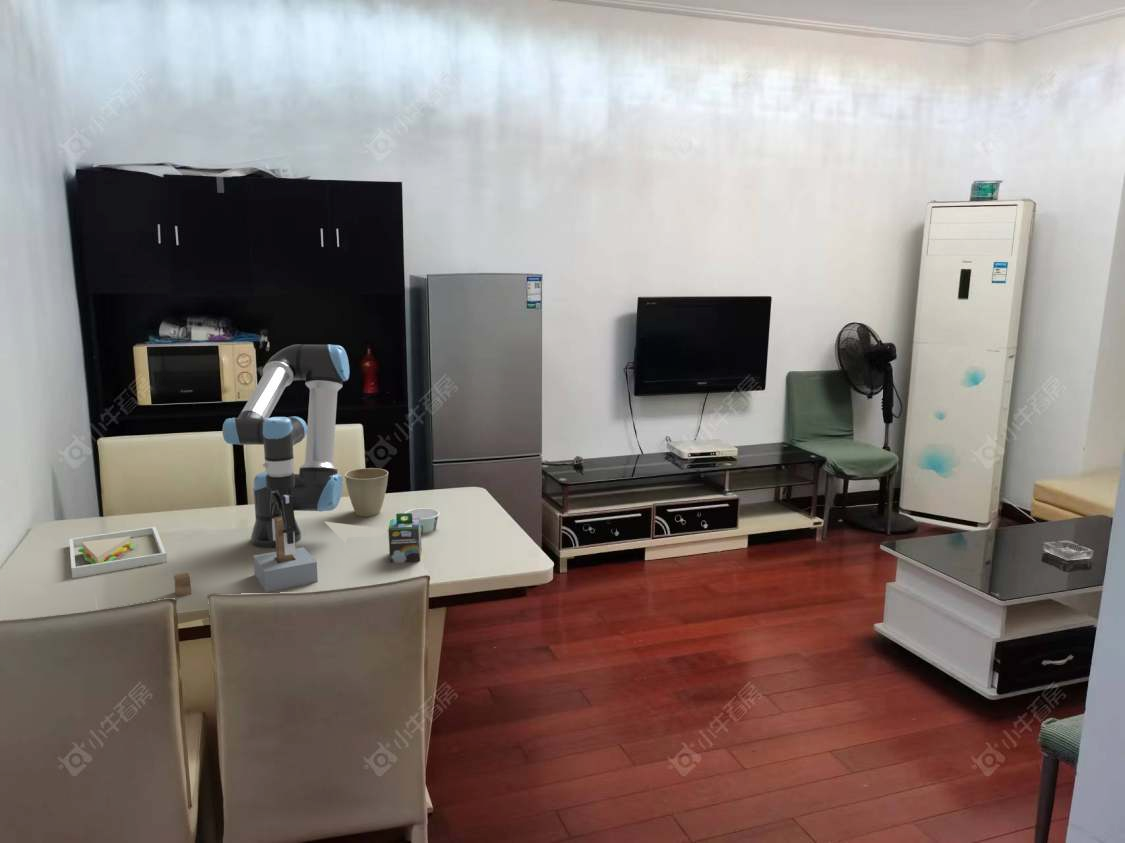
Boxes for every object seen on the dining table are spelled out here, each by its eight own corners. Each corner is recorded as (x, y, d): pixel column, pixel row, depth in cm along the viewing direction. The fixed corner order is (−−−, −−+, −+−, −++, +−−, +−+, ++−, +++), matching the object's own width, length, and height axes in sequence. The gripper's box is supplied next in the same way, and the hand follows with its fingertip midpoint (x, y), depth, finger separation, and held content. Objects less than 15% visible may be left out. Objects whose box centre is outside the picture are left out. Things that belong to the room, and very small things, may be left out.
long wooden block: (277, 578, 225) (274, 517, 221) (290, 575, 227) (287, 515, 223) (281, 582, 222) (277, 520, 219) (293, 579, 224) (290, 518, 221)
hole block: (254, 575, 226) (253, 555, 225) (304, 566, 234) (303, 547, 233) (265, 592, 215) (264, 571, 214) (317, 582, 222) (316, 561, 221)
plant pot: (338, 520, 277) (336, 476, 274) (360, 508, 291) (359, 466, 288) (376, 525, 272) (374, 480, 269) (397, 512, 286) (396, 470, 283)
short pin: (175, 592, 214) (173, 574, 214) (189, 589, 216) (188, 572, 215) (177, 596, 212) (175, 579, 211) (191, 594, 213) (189, 576, 212)
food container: (443, 527, 271) (443, 508, 270) (434, 538, 260) (434, 519, 258) (409, 525, 273) (409, 507, 271) (399, 537, 261) (398, 518, 260)
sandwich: (57, 576, 225) (55, 560, 224) (85, 552, 244) (83, 537, 243) (116, 573, 228) (114, 557, 227) (139, 550, 247) (137, 535, 246)
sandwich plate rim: (70, 548, 247) (69, 538, 246) (156, 535, 259) (155, 526, 259) (72, 578, 223) (71, 568, 222) (167, 562, 235) (166, 553, 235)
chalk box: (421, 553, 246) (420, 507, 244) (420, 563, 237) (419, 516, 235) (391, 554, 245) (390, 508, 242) (389, 564, 236) (387, 517, 233)
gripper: (256, 465, 227) (260, 536, 231) (276, 485, 206) (281, 563, 210) (283, 462, 231) (286, 532, 235) (305, 482, 210) (309, 557, 214)
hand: (284, 546), depth 223 cm, fingers open, 13 cm apart
